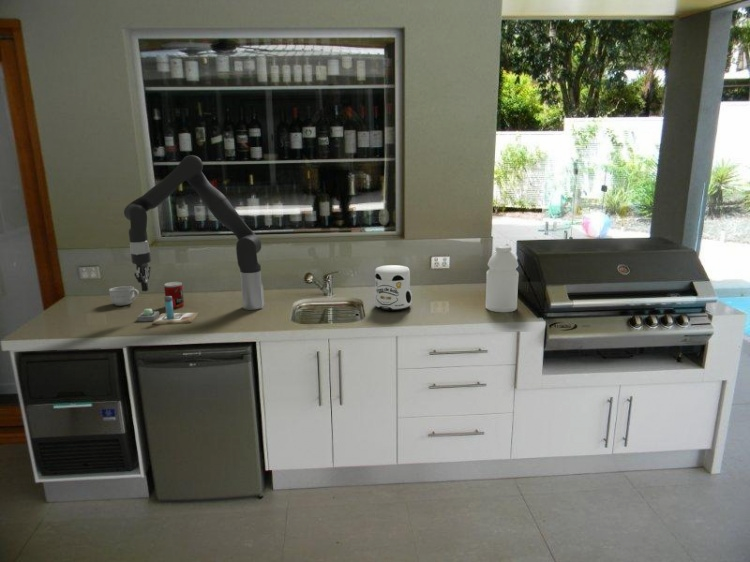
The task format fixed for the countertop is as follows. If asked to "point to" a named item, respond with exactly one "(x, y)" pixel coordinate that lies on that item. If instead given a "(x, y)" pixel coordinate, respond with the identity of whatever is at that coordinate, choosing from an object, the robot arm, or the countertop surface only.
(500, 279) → the bottle
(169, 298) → the marker
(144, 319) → the button housing
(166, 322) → the board
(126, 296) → the teacup
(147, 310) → the mint green capsule
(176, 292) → the canned food
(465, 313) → the countertop surface
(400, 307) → the milk container
